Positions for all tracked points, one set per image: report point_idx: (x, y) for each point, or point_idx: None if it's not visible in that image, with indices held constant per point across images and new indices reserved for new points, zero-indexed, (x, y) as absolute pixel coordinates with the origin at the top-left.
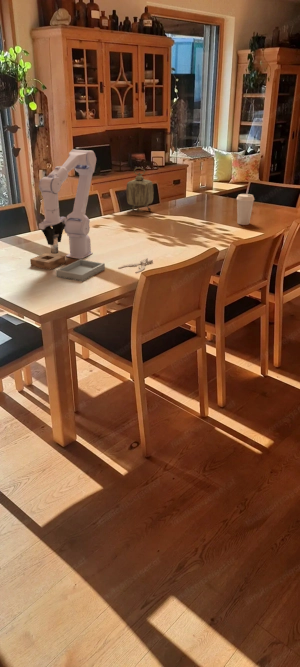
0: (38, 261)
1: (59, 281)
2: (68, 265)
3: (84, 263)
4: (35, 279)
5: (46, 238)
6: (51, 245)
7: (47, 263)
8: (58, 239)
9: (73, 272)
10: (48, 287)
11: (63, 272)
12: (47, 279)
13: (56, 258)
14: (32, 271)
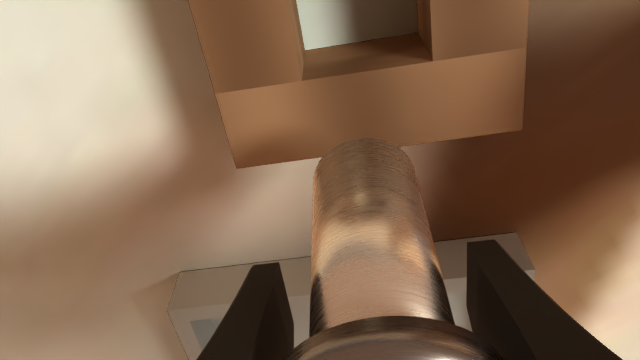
0: (191, 4)
1: (133, 339)
2: None
3: None
4: (4, 202)
5: (211, 350)
6: (311, 259)
7: (230, 133)
8: (478, 324)
9: (309, 323)
10: (12, 356)
11: (190, 355)
12: (86, 264)
13: (400, 115)
14: (85, 18)
